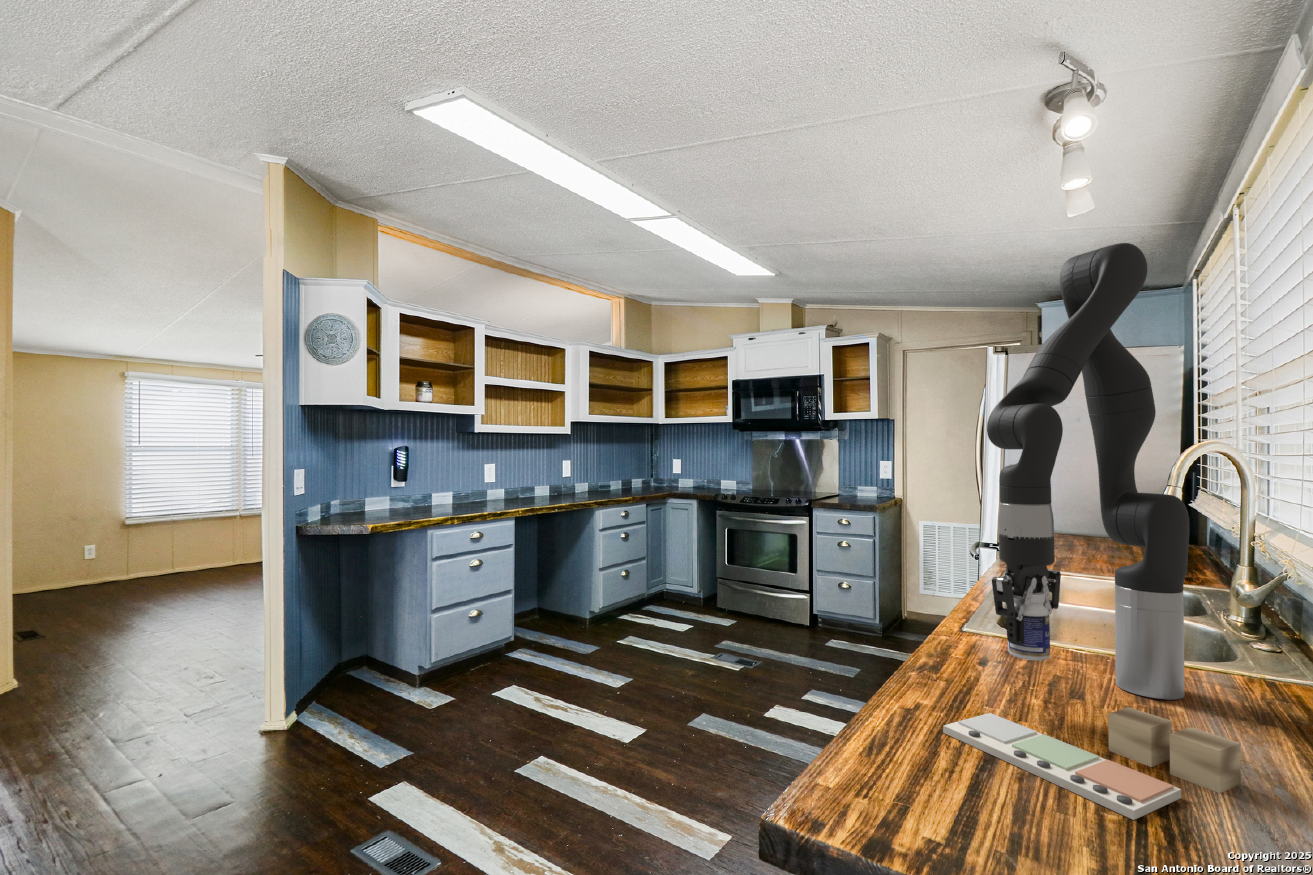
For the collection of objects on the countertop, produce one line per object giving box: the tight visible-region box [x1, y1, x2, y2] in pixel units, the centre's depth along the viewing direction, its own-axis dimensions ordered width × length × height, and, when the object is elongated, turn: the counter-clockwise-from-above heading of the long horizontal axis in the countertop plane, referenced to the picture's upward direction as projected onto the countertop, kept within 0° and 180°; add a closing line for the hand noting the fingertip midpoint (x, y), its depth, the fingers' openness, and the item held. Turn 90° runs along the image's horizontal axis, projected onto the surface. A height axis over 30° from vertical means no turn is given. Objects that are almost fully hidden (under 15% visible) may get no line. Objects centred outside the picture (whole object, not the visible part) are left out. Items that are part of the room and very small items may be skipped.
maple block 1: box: [1107, 706, 1173, 768], centre depth 84 cm, size 5×5×5 cm
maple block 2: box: [1169, 726, 1242, 794], centre depth 78 cm, size 5×5×5 cm
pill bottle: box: [1007, 592, 1051, 662], centre depth 99 cm, size 6×6×10 cm
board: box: [942, 712, 1182, 821], centre depth 82 cm, size 10×24×1 cm, turn 27°
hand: (1028, 639), depth 99 cm, fingers closed on pill bottle, 5 cm apart
